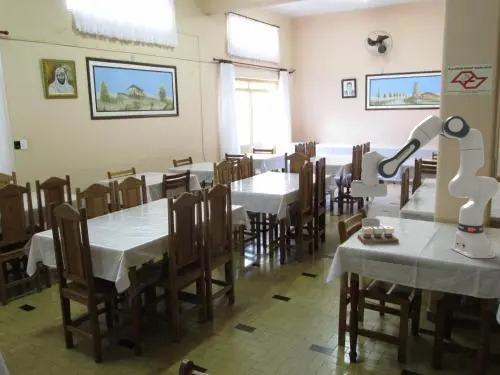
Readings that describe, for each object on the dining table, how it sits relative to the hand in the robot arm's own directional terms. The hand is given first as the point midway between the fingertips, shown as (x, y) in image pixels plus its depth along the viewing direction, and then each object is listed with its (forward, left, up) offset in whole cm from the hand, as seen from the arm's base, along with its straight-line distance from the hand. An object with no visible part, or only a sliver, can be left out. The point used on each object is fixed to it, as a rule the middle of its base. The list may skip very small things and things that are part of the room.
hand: (368, 204), depth 249 cm
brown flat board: (0, -6, -21) cm, 22 cm away
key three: (0, 0, -18) cm, 18 cm away
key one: (0, -12, -18) cm, 22 cm away
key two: (0, -6, -19) cm, 19 cm away
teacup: (+18, -7, -21) cm, 29 cm away
